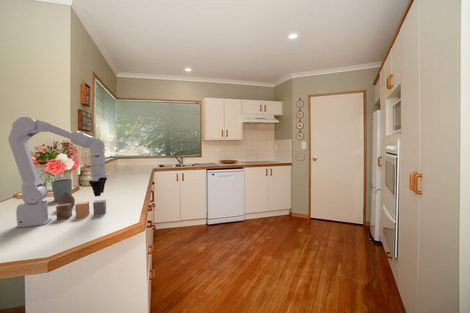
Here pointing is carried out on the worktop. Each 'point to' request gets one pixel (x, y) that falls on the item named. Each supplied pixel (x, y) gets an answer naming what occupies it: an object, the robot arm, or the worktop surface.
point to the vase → (66, 199)
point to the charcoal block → (99, 207)
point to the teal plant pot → (61, 187)
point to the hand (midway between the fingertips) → (99, 194)
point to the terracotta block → (82, 209)
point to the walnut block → (64, 211)
